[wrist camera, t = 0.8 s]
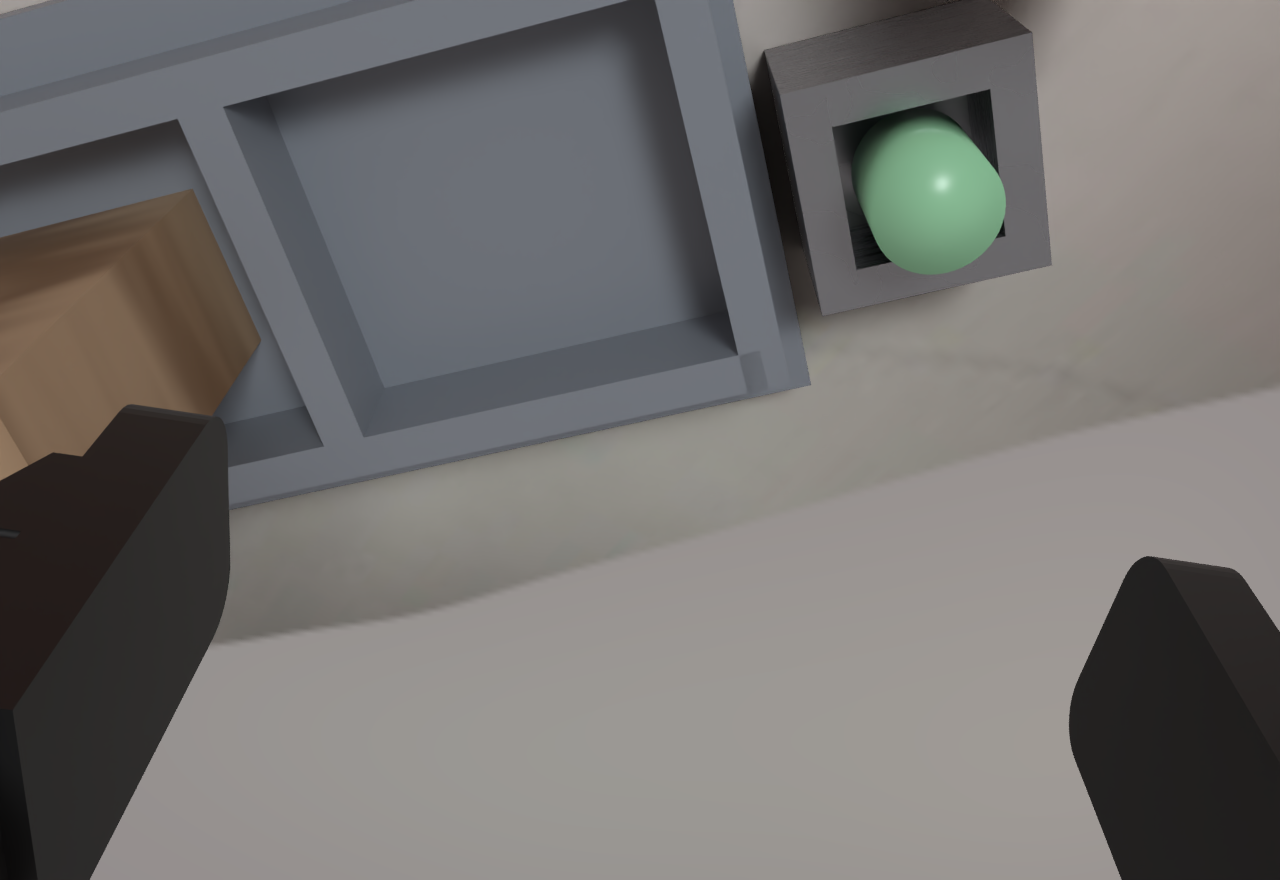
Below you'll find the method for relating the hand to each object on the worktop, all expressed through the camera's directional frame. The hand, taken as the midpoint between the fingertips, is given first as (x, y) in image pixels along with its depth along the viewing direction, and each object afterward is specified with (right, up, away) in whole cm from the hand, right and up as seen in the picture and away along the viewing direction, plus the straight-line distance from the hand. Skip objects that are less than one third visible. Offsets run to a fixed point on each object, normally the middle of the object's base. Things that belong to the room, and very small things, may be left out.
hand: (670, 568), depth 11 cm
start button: (+6, +7, +15) cm, 18 cm away
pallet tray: (-8, +6, +19) cm, 22 cm away
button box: (+6, +9, +18) cm, 21 cm away
